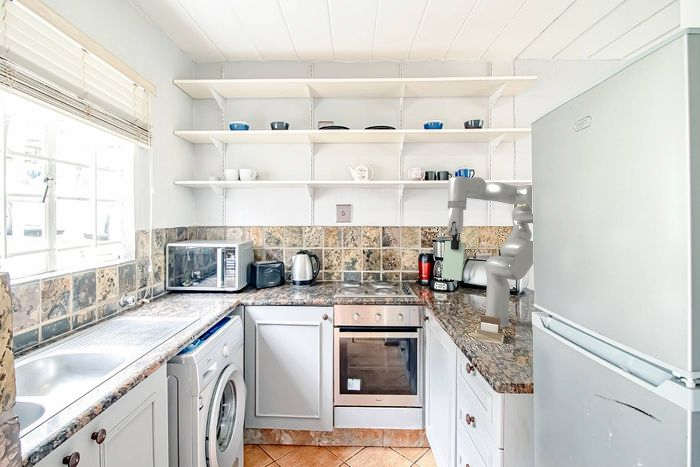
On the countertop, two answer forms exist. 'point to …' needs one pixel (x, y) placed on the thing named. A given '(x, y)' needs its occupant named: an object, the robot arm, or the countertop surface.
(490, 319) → the walnut offcut
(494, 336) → the rack
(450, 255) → the green panel
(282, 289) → the countertop surface
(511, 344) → the countertop surface
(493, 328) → the white offcut
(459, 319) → the countertop surface
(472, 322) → the shard
